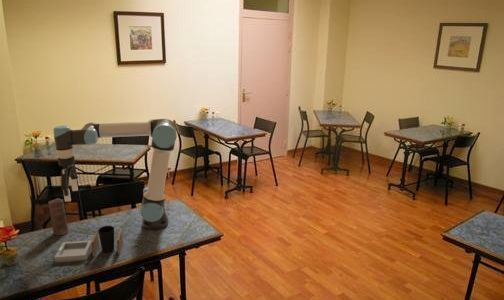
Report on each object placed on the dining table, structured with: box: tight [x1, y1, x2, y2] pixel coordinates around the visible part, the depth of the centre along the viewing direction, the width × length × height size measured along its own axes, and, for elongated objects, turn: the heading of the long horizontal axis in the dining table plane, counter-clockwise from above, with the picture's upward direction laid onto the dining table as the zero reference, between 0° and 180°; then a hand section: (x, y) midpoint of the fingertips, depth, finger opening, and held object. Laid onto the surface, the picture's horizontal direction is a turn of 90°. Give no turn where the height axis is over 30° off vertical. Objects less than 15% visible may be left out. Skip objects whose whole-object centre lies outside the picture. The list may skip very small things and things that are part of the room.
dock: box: [54, 240, 92, 264], centre depth 187 cm, size 14×14×3 cm
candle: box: [48, 198, 69, 236], centre depth 204 cm, size 8×7×20 cm
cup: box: [97, 225, 115, 254], centre depth 190 cm, size 8×8×12 cm
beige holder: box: [91, 230, 124, 257], centre depth 191 cm, size 13×10×8 cm
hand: (71, 195), depth 193 cm, fingers open, 13 cm apart
